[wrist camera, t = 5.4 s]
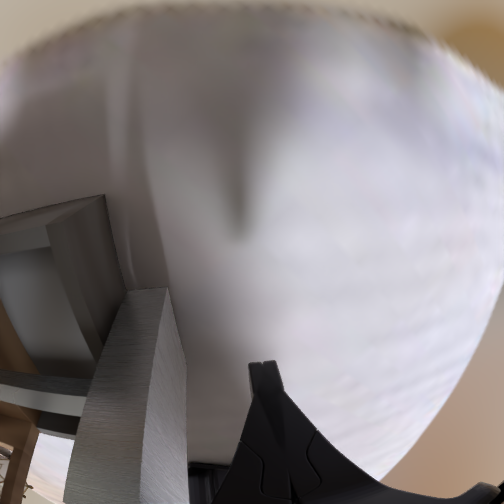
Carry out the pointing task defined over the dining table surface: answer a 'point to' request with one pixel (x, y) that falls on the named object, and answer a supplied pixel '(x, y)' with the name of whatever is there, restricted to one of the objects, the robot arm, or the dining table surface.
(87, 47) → the dining table surface
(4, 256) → the tunnel
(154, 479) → the slider
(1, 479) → the game die
